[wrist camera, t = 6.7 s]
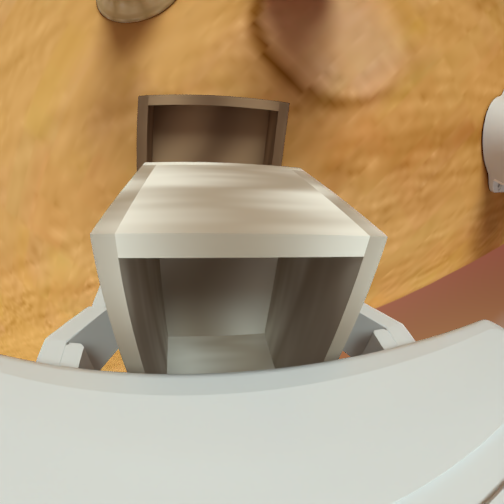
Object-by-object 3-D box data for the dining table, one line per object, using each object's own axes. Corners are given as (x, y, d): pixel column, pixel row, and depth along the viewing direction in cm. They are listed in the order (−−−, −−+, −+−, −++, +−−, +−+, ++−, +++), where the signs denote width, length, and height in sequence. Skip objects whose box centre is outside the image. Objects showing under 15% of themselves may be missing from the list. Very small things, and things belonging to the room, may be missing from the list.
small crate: (300, 167, 11) (387, 236, 6) (270, 332, 15) (300, 427, 10) (145, 162, 9) (90, 234, 4) (160, 336, 14) (157, 438, 9)
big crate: (277, 102, 23) (289, 103, 19) (259, 244, 30) (267, 262, 27) (147, 96, 20) (138, 95, 17) (148, 244, 27) (143, 263, 24)
